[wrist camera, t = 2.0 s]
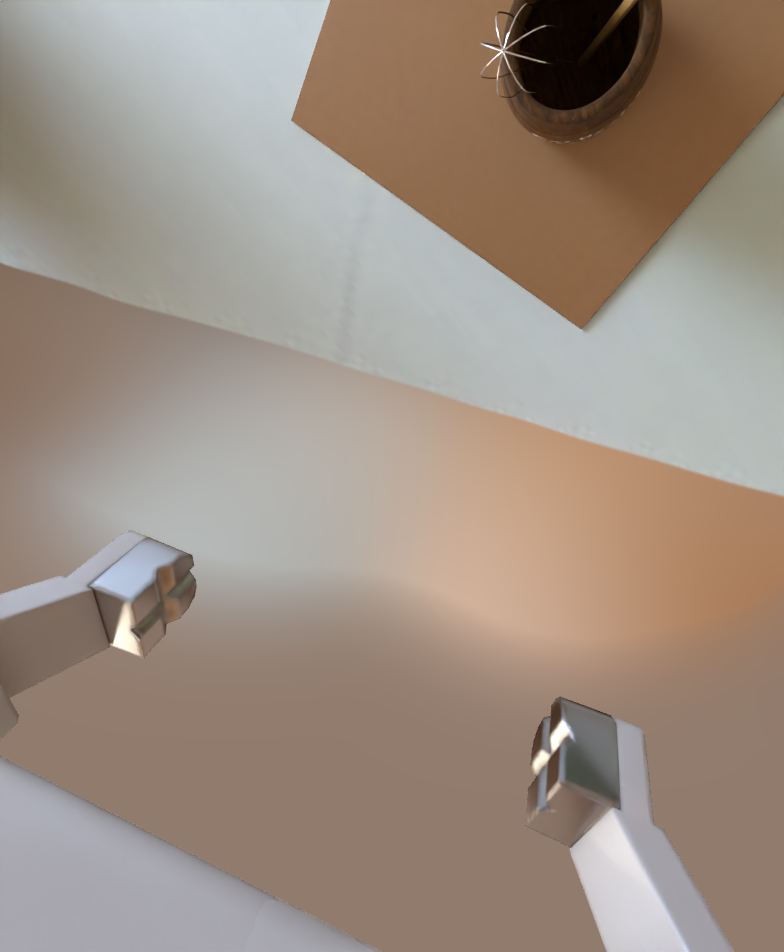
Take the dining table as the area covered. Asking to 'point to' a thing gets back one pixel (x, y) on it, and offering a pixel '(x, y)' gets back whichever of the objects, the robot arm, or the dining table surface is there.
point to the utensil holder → (575, 63)
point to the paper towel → (528, 157)
